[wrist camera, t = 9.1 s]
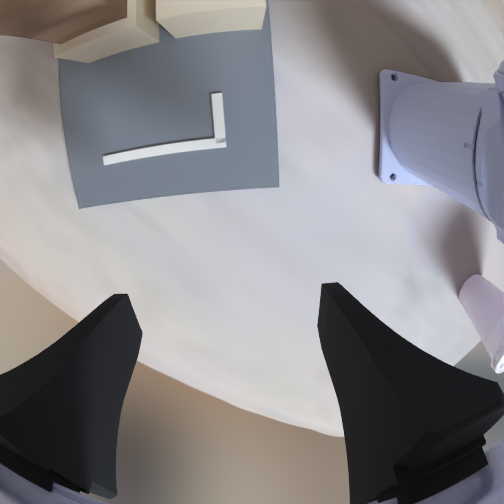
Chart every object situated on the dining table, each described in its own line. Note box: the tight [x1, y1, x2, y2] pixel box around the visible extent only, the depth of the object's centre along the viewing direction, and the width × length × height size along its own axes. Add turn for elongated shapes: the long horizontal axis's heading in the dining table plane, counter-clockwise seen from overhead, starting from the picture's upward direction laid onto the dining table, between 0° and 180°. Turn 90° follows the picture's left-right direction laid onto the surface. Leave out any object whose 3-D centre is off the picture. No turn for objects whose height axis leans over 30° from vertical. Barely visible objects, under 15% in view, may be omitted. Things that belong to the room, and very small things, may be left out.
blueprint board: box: [53, 0, 279, 209], centre depth 12 cm, size 14×16×5 cm
